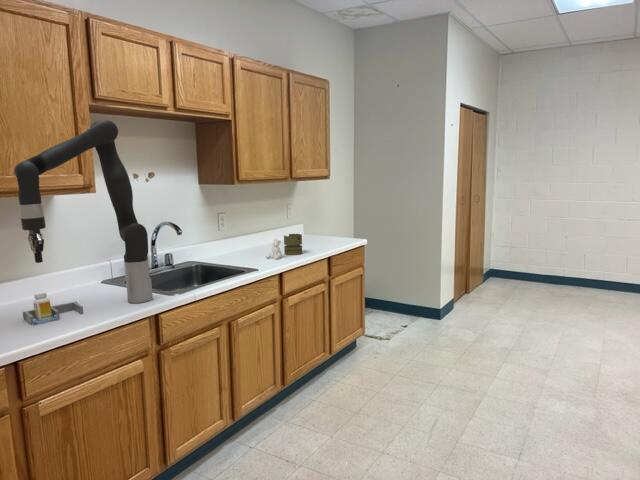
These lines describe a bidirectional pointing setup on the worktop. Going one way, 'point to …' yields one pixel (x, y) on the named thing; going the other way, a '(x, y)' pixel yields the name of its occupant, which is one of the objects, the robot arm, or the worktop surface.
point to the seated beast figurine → (275, 251)
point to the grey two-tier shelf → (54, 311)
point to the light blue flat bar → (45, 320)
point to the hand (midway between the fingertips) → (39, 262)
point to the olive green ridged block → (293, 244)
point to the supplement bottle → (42, 307)
